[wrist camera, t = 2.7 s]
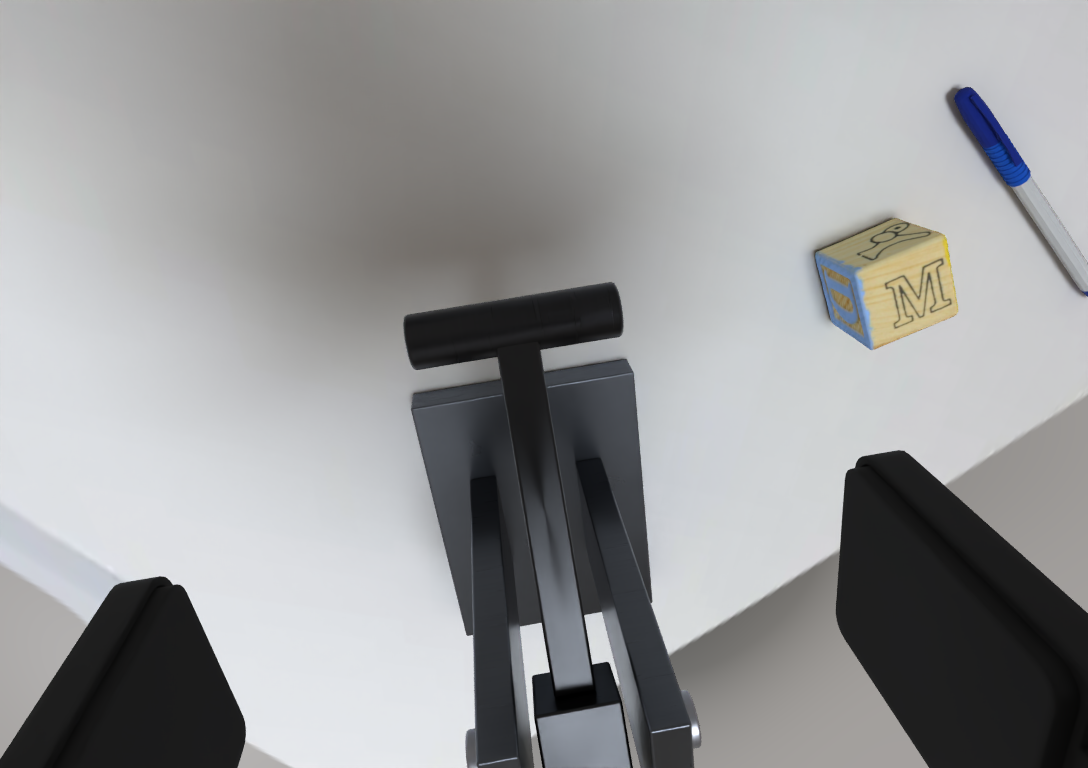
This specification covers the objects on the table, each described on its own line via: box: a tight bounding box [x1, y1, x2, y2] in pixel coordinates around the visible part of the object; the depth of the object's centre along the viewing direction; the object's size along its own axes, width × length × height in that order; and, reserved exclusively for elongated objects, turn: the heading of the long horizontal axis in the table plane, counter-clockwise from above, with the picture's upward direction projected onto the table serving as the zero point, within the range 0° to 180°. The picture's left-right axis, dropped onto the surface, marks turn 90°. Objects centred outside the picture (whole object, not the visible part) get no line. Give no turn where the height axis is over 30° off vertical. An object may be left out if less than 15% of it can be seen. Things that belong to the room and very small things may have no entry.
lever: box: [403, 282, 633, 768], centre depth 18 cm, size 13×6×2 cm, turn 7°
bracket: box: [411, 359, 701, 768], centre depth 23 cm, size 11×8×13 cm
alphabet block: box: [815, 218, 958, 350], centre depth 24 cm, size 3×3×3 cm
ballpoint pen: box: [954, 87, 1088, 297], centre depth 24 cm, size 10×1×1 cm, turn 47°
